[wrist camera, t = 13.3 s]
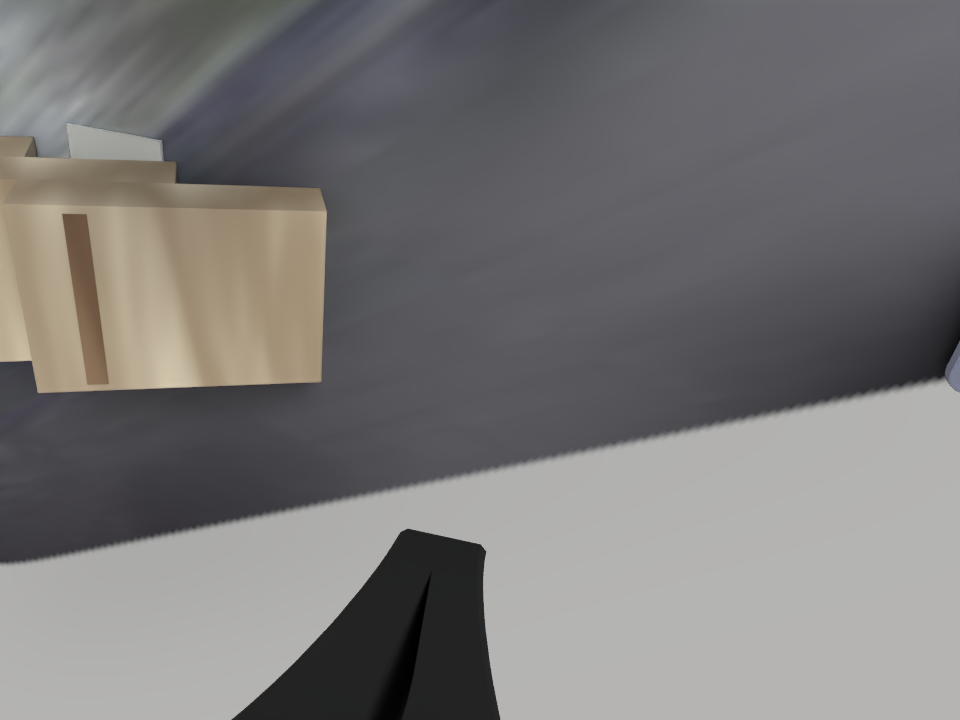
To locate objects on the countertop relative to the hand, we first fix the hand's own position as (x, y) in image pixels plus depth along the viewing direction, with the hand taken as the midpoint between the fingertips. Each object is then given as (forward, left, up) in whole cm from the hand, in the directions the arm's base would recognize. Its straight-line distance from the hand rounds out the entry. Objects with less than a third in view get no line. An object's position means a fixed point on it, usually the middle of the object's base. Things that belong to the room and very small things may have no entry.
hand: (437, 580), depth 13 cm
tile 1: (+5, 0, -9) cm, 11 cm away
